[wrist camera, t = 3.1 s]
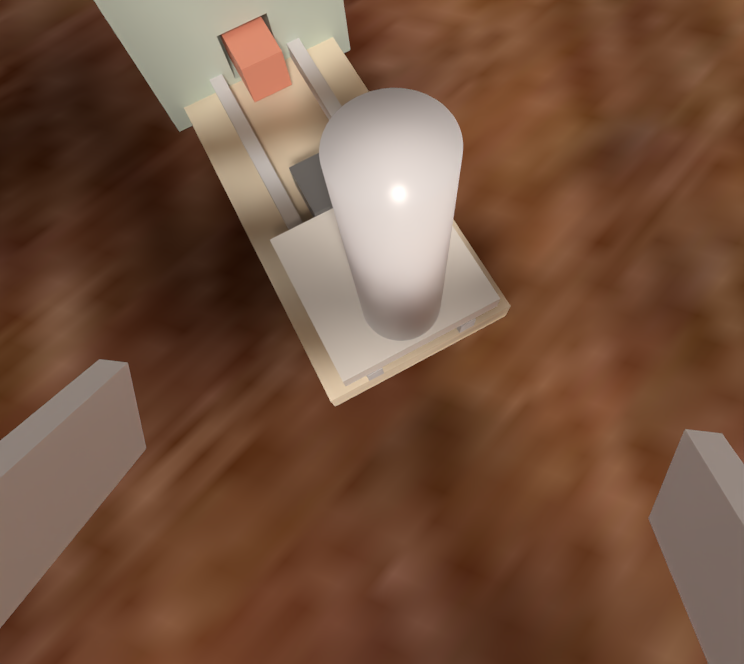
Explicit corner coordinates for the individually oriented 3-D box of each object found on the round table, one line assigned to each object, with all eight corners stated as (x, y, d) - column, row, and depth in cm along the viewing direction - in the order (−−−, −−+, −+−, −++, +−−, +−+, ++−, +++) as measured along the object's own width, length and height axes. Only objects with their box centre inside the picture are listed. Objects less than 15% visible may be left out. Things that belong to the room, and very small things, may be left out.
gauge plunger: (228, 55, 31) (213, 20, 29) (264, 38, 31) (252, 2, 29) (254, 102, 30) (241, 70, 27) (292, 84, 30) (281, 51, 28)
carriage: (253, 206, 27) (127, -16, 15) (387, 140, 28) (366, -124, 16) (346, 387, 24) (279, 284, 12) (496, 308, 24) (573, 134, 13)
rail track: (194, 124, 32) (176, 95, 30) (336, 56, 33) (330, 22, 30) (335, 406, 26) (327, 397, 24) (505, 315, 27) (514, 298, 25)
